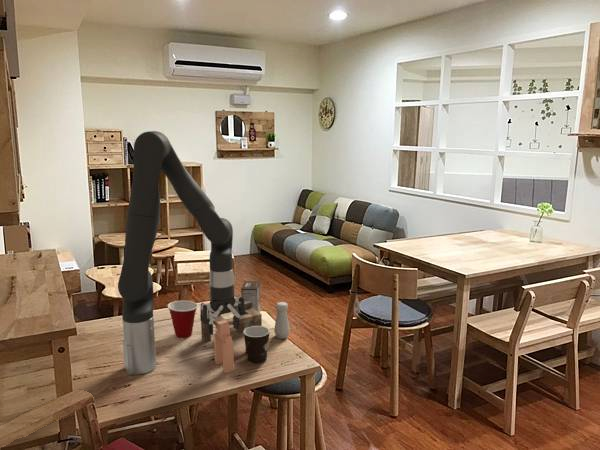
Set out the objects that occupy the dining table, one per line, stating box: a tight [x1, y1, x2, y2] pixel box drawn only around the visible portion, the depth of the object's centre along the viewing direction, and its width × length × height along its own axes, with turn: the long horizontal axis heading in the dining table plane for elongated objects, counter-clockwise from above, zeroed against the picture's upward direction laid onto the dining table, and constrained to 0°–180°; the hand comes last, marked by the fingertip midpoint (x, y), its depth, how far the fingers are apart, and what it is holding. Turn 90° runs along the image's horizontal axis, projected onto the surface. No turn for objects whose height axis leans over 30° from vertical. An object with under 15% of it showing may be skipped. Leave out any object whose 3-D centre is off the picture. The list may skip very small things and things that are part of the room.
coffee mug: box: [243, 325, 271, 365], centre depth 163 cm, size 12×9×10 cm
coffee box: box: [240, 280, 261, 329], centre depth 192 cm, size 9×6×16 cm
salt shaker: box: [273, 301, 291, 340], centre depth 181 cm, size 6×6×13 cm
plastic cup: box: [167, 300, 199, 339], centre depth 182 cm, size 11×11×12 cm
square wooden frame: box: [200, 301, 263, 343], centre depth 176 cm, size 16×16×14 cm
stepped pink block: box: [213, 320, 235, 373], centre depth 159 cm, size 3×8×15 cm, turn 32°
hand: (223, 330), depth 158 cm, fingers open, 8 cm apart
